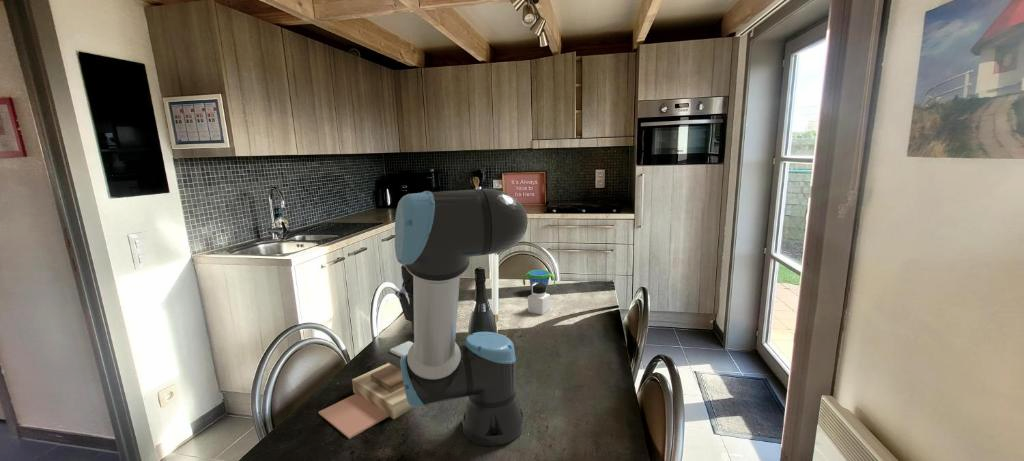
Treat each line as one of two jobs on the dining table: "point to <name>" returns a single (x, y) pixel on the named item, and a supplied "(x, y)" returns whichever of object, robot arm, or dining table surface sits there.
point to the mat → (353, 415)
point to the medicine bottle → (539, 299)
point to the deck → (381, 395)
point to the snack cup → (539, 277)
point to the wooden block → (388, 378)
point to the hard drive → (401, 349)
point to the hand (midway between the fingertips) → (419, 339)
